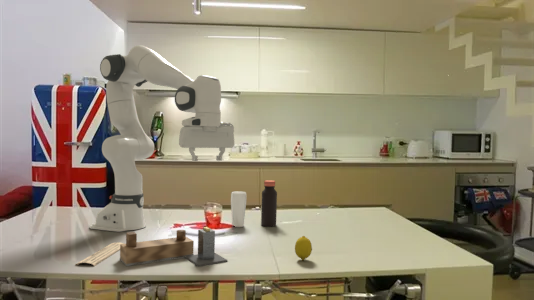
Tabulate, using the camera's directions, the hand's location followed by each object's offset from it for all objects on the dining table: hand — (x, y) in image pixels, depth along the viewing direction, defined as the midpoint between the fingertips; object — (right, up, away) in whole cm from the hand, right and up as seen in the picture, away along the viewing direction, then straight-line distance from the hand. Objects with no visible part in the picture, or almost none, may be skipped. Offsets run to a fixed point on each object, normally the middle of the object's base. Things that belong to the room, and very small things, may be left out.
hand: (207, 160), depth 150 cm
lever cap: (+1, -31, -13) cm, 34 cm away
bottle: (+22, -30, +40) cm, 55 cm away
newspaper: (-33, -32, -10) cm, 47 cm away
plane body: (-14, -31, -12) cm, 37 cm away
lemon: (+33, -33, -11) cm, 48 cm away
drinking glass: (+8, -30, +36) cm, 48 cm away
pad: (+2, -32, -13) cm, 34 cm away
